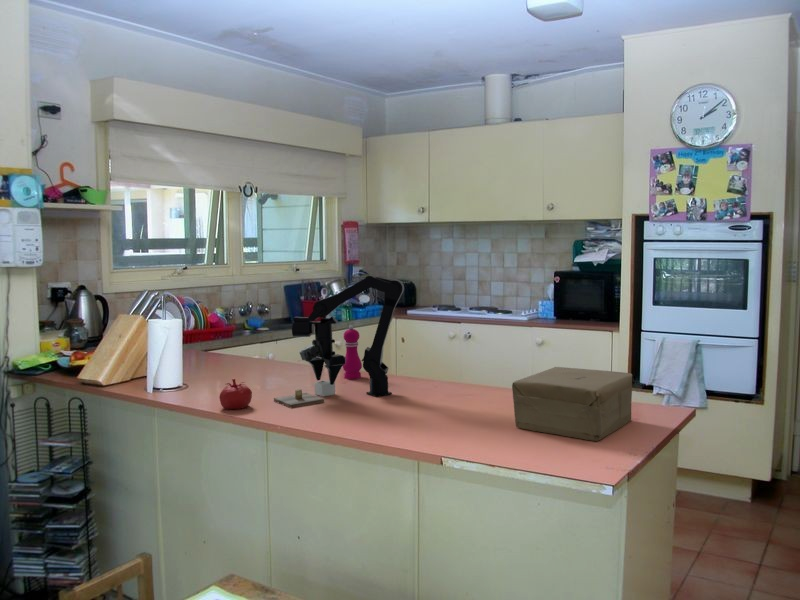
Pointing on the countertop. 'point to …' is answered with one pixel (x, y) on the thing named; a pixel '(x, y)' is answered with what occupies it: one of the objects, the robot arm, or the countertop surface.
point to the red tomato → (235, 396)
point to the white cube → (324, 388)
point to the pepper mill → (352, 354)
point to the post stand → (299, 399)
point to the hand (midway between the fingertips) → (325, 382)
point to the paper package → (573, 402)
